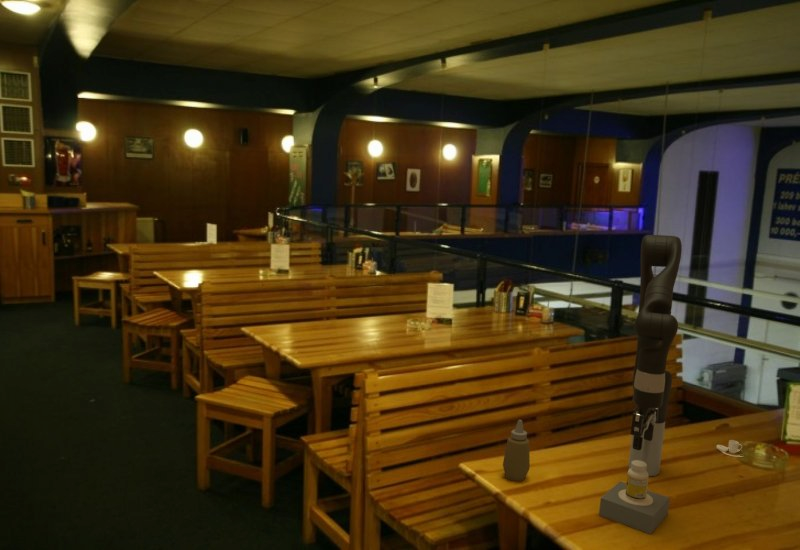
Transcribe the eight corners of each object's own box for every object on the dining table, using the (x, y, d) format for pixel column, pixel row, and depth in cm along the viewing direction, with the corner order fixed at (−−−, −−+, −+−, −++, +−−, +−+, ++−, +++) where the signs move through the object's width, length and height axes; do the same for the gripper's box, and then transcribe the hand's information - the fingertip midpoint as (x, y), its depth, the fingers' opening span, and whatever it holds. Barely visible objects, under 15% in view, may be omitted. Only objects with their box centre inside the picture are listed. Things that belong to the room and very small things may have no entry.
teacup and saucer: (713, 451, 237) (714, 440, 236) (723, 445, 242) (724, 434, 241) (739, 460, 230) (740, 448, 230) (748, 454, 236) (750, 443, 235)
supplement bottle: (629, 490, 191) (633, 457, 189) (649, 497, 187) (653, 463, 186) (621, 496, 187) (625, 463, 185) (641, 504, 183) (645, 469, 182)
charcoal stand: (618, 497, 198) (620, 480, 197) (667, 514, 189) (669, 496, 188) (598, 515, 187) (600, 497, 186) (650, 534, 178) (652, 515, 178)
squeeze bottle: (496, 472, 209) (501, 416, 206) (520, 470, 212) (525, 414, 209) (510, 484, 202) (515, 426, 199) (533, 481, 205) (539, 424, 202)
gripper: (654, 397, 174) (647, 457, 177) (671, 384, 185) (665, 440, 188) (625, 389, 179) (619, 448, 181) (644, 377, 190) (637, 433, 193)
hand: (642, 444), depth 185 cm, fingers open, 8 cm apart
